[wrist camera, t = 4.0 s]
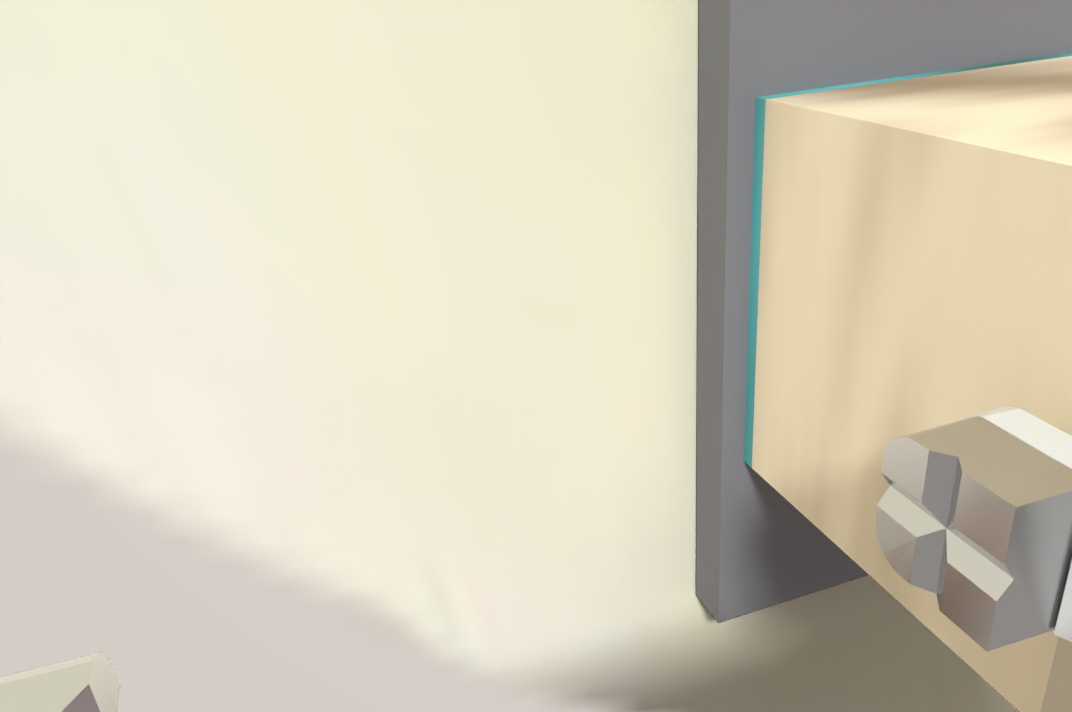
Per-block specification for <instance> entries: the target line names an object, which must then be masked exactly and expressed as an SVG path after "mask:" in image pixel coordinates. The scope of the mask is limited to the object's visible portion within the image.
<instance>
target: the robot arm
mask: <svg viewBox="0 0 1072 712" xmlns="http://www.w3.org/2000/svg"><path fill="white" fill-rule="evenodd" d="M881 473H882V475H883V476H884V477H885V479H886V480H887V482H888V483H889V484H890V486H889V488H888V489H887V491H886V492H885V494H884V495H883V497H882V498H881V500H880V501H879V503H878V504H877V510H876V524H875V531H876V535H877V538H878V541H879V544H880V547H881V550H882V553H883V555H884V556H885V558H886V559H887V561H888V562H889V564H890V565H891V566H892V568H893V569H894V570H895V571H896V572H897V573H898V574H899V575H900V576H901V577H902V578H903V579H904V580H905V581H907V582H908V583H909V584H910V585H913V586H916V587H919V588H921V589H924V590H927V591H930V592H933V593H936V595H937V600H938V605H939V610H940V611H941V612H942V613H943V614H944V615H945V616H946V617H947V618H949V619H950V620H951V621H952V622H953V623H954V624H956V625H957V626H958V627H959V628H960V629H961V630H962V631H964V632H965V633H966V634H967V635H968V636H969V637H971V638H972V639H973V640H974V641H975V642H976V643H977V644H979V645H980V646H981V647H982V648H983V649H984V650H985V651H987V652H988V651H991V650H994V649H997V648H1000V647H1003V646H1006V645H1009V644H1013V643H1016V642H1019V641H1022V640H1025V639H1028V638H1031V637H1034V636H1037V635H1040V634H1043V633H1047V632H1050V631H1053V630H1055V631H1054V635H1056V636H1059V637H1061V638H1063V639H1065V640H1068V641H1070V642H1072V436H1071V435H1069V434H1067V433H1065V432H1063V431H1061V430H1060V429H1058V428H1056V427H1054V426H1052V425H1050V424H1048V423H1046V422H1045V421H1043V420H1041V419H1039V418H1037V417H1035V416H1033V415H1031V414H1030V413H1028V412H1026V411H1024V410H1022V409H1020V408H1013V407H1006V406H1002V407H998V408H995V409H992V410H988V411H985V412H982V413H978V414H975V415H972V416H968V417H966V418H965V419H963V420H959V421H956V422H952V423H948V424H945V425H941V426H938V427H934V428H930V429H927V430H923V431H919V432H916V433H912V434H909V435H905V436H901V437H898V438H894V439H891V440H890V442H889V444H888V445H887V447H886V449H885V451H884V452H883V458H882V466H881ZM119 691H120V684H119V682H118V679H117V677H116V675H115V672H114V670H113V668H112V665H111V663H110V660H109V658H108V657H106V656H105V655H103V654H101V653H100V652H99V653H95V654H91V655H87V656H83V657H79V658H75V659H71V660H66V661H63V662H58V663H54V664H51V665H46V666H43V667H38V668H34V669H30V670H27V671H22V672H18V673H14V674H10V675H7V676H2V677H0V712H117V707H118V699H119Z"/></svg>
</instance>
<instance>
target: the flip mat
mask: <svg viewBox="0 0 1072 712" xmlns="http://www.w3.org/2000/svg"><path fill="white" fill-rule="evenodd" d="M1065 53H1072V0H699V60H698V264H697V467H696V595H697V597H698V598H699V599H700V600H701V602H702V603H703V604H704V605H705V607H706V608H707V609H708V611H709V612H710V613H711V614H712V616H713V617H714V618H715V620H716V621H717V622H718V623H720V622H723V621H726V620H730V619H733V618H736V617H739V616H742V615H745V614H748V613H751V612H754V611H757V610H761V609H764V608H767V607H770V606H773V605H776V604H779V603H782V602H785V601H789V600H792V599H795V598H798V597H801V596H804V595H807V594H810V593H813V592H816V591H820V590H823V589H826V588H829V587H832V586H835V585H838V584H841V583H844V582H847V581H851V580H854V579H857V578H860V577H863V576H866V575H869V574H868V573H867V572H865V571H864V570H863V569H862V568H861V567H860V566H859V565H858V564H857V563H856V562H854V561H853V560H852V559H851V558H850V557H849V556H848V555H847V554H846V553H845V552H843V551H842V550H841V549H840V548H839V547H838V546H837V545H836V544H835V543H834V542H832V541H831V540H830V539H829V538H828V537H827V536H826V535H825V534H824V533H823V532H821V531H820V530H819V529H818V528H817V527H816V526H815V525H814V524H813V523H812V522H810V521H809V520H808V519H807V518H806V517H805V516H804V515H803V514H802V513H801V512H799V511H798V510H797V509H796V508H795V507H794V506H793V505H792V504H791V503H790V502H788V501H787V500H786V499H785V498H784V497H783V496H782V495H781V494H780V493H779V492H777V491H776V490H775V489H774V488H773V487H772V486H771V485H770V484H769V483H768V482H767V481H765V480H764V479H763V478H762V477H761V476H760V475H759V474H758V473H757V472H756V471H754V470H753V469H752V468H751V467H750V466H749V465H748V464H747V463H746V462H745V461H744V436H745V405H746V374H747V343H748V312H749V281H750V250H751V220H752V189H753V158H754V127H755V97H760V96H767V95H774V94H781V93H788V92H795V91H803V90H810V89H817V88H824V87H831V86H838V85H845V84H852V83H859V82H866V81H873V80H880V79H888V78H895V77H902V76H909V75H916V74H923V73H930V72H937V71H944V70H951V69H958V68H966V67H973V66H980V65H987V64H994V63H1001V62H1008V61H1015V60H1022V59H1029V58H1036V57H1044V56H1051V55H1058V54H1065Z"/></svg>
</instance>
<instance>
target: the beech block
mask: <svg viewBox="0 0 1072 712" xmlns="http://www.w3.org/2000/svg"><path fill="white" fill-rule="evenodd" d="M1002 406H1006V407H1013V408H1020V409H1022V410H1024V411H1026V412H1028V413H1030V414H1031V415H1033V416H1035V417H1037V418H1039V419H1041V420H1043V421H1045V422H1046V423H1048V424H1050V425H1052V426H1054V427H1056V428H1058V429H1060V430H1061V431H1063V432H1065V433H1067V434H1069V435H1071V436H1072V53H1065V54H1058V55H1051V56H1044V57H1036V58H1029V59H1022V60H1015V61H1008V62H1001V63H994V64H987V65H980V66H973V67H966V68H958V69H951V70H944V71H937V72H930V73H923V74H916V75H909V76H902V77H895V78H888V79H880V80H873V81H866V82H859V83H852V84H845V85H838V86H831V87H824V88H817V89H810V90H803V91H795V92H788V93H781V94H774V95H767V96H760V97H755V127H754V158H753V189H752V220H751V250H750V281H749V312H748V343H747V374H746V405H745V436H744V461H745V462H746V463H747V464H748V465H749V466H750V467H751V468H752V469H753V470H754V471H756V472H757V473H758V474H759V475H760V476H761V477H762V478H763V479H764V480H765V481H767V482H768V483H769V484H770V485H771V486H772V487H773V488H774V489H775V490H776V491H777V492H779V493H780V494H781V495H782V496H783V497H784V498H785V499H786V500H787V501H788V502H790V503H791V504H792V505H793V506H794V507H795V508H796V509H797V510H798V511H799V512H801V513H802V514H803V515H804V516H805V517H806V518H807V519H808V520H809V521H810V522H812V523H813V524H814V525H815V526H816V527H817V528H818V529H819V530H820V531H821V532H823V533H824V534H825V535H826V536H827V537H828V538H829V539H830V540H831V541H832V542H834V543H835V544H836V545H837V546H838V547H839V548H840V549H841V550H842V551H843V552H845V553H846V554H847V555H848V556H849V557H850V558H851V559H852V560H853V561H854V562H856V563H857V564H858V565H859V566H860V567H861V568H862V569H863V570H864V571H865V572H867V573H868V574H869V575H870V576H871V577H872V578H873V579H874V580H875V581H876V582H878V583H879V584H880V585H881V586H882V587H883V588H884V589H885V590H886V591H887V592H889V593H890V594H891V595H892V596H893V597H894V598H895V599H896V600H897V601H898V602H900V603H901V604H902V605H903V606H904V607H905V608H906V609H907V610H908V611H909V612H911V613H912V614H913V615H914V616H915V617H916V618H917V619H918V620H919V621H920V622H921V623H923V624H924V625H925V626H926V627H927V628H928V629H929V630H930V631H931V632H932V633H934V634H935V635H936V636H937V637H938V638H939V639H940V640H941V641H942V642H943V643H945V644H946V645H947V646H948V647H949V648H950V649H951V650H952V651H953V652H954V653H956V654H957V655H958V656H959V657H960V658H961V659H962V660H963V661H964V662H965V663H967V664H968V665H969V666H970V667H971V668H972V669H973V670H974V671H975V672H976V673H978V674H979V675H980V676H981V677H982V678H983V679H984V680H985V681H986V682H987V683H989V684H990V685H991V686H992V687H993V688H994V689H995V690H996V691H997V692H998V693H1000V694H1001V695H1002V696H1003V697H1004V698H1005V699H1006V700H1007V701H1008V702H1009V703H1011V704H1012V705H1013V706H1014V707H1015V708H1016V709H1017V710H1018V711H1019V712H1072V642H1070V641H1068V640H1065V639H1063V638H1061V637H1059V636H1056V635H1054V631H1055V630H1053V631H1050V632H1047V633H1043V634H1040V635H1037V636H1034V637H1031V638H1028V639H1025V640H1022V641H1019V642H1016V643H1013V644H1009V645H1006V646H1003V647H1000V648H997V649H994V650H991V651H988V652H987V651H985V650H984V649H983V648H982V647H981V646H980V645H979V644H977V643H976V642H975V641H974V640H973V639H972V638H971V637H969V636H968V635H967V634H966V633H965V632H964V631H962V630H961V629H960V628H959V627H958V626H957V625H956V624H954V623H953V622H952V621H951V620H950V619H949V618H947V617H946V616H945V615H944V614H943V613H942V612H941V611H940V610H939V605H938V600H937V595H936V593H933V592H930V591H927V590H924V589H921V588H919V587H916V586H913V585H910V584H909V583H908V582H907V581H905V580H904V579H903V578H902V577H901V576H900V575H899V574H898V573H897V572H896V571H895V570H894V569H893V568H892V566H891V565H890V564H889V562H888V561H887V559H886V558H885V556H884V555H883V553H882V550H881V547H880V544H879V541H878V538H877V535H876V531H875V524H876V510H877V504H878V503H879V501H880V500H881V498H882V497H883V495H884V494H885V492H886V491H887V489H888V488H889V486H890V484H889V483H888V482H887V480H886V479H885V477H884V476H883V475H882V473H881V466H882V458H883V452H884V451H885V449H886V447H887V445H888V444H889V442H890V440H891V439H894V438H898V437H901V436H905V435H909V434H912V433H916V432H919V431H923V430H927V429H930V428H934V427H938V426H941V425H945V424H948V423H952V422H956V421H959V420H963V419H965V418H966V417H968V416H972V415H975V414H978V413H982V412H985V411H988V410H992V409H995V408H998V407H1002Z"/></svg>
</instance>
